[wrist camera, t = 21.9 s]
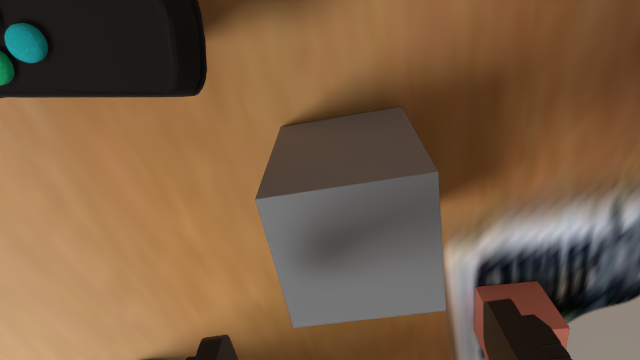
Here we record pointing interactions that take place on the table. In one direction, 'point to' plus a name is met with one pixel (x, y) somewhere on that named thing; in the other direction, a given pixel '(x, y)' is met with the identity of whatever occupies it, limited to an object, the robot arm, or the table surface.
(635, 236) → the table surface
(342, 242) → the cover
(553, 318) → the cube
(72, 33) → the controller
